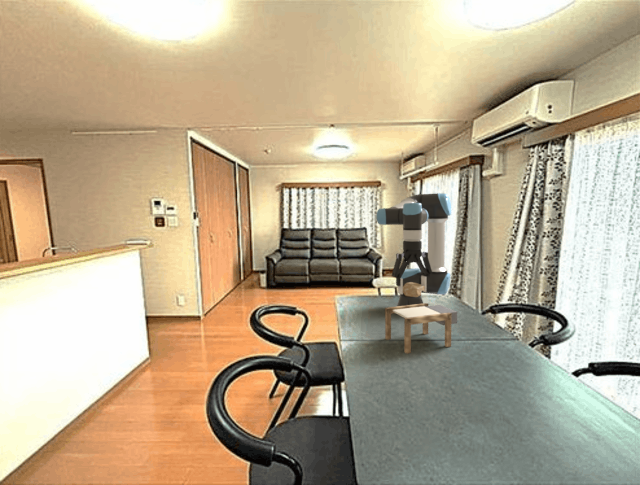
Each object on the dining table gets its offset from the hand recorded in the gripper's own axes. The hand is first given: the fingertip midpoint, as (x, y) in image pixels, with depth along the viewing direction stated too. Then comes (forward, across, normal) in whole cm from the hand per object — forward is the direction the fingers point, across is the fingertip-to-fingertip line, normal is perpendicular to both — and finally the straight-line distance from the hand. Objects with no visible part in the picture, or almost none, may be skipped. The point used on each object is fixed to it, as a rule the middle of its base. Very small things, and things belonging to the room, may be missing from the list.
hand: (412, 292), depth 150 cm
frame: (+22, -2, 0) cm, 22 cm away
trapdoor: (+14, -6, 0) cm, 15 cm away
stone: (+1, 0, +1) cm, 2 cm away
